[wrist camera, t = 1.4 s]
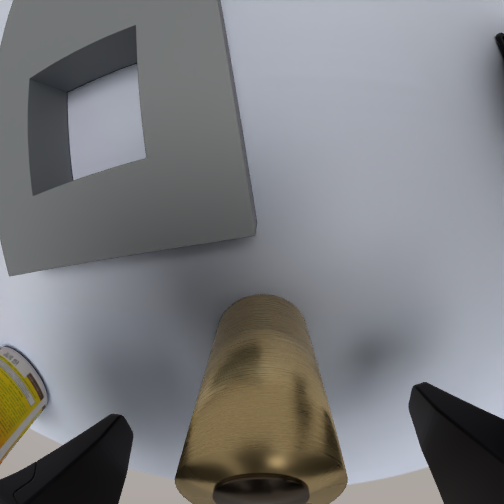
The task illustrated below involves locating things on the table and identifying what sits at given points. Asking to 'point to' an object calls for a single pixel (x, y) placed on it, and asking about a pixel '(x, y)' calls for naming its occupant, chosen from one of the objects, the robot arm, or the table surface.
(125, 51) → the jig
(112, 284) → the table surface
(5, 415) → the supplement bottle
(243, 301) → the cylinder
